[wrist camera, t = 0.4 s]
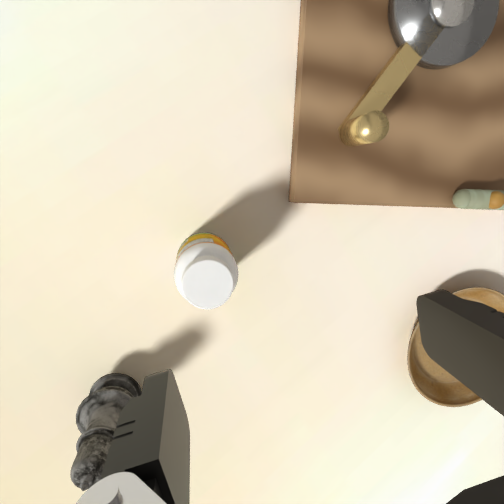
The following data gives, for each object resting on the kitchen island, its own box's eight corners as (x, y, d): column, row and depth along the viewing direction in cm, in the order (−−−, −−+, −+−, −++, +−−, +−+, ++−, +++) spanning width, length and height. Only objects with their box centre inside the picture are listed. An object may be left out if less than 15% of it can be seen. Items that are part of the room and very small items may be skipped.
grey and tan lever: (436, -78, 32) (489, -133, 26) (505, 5, 35) (567, -29, 29) (297, 110, 33) (319, 96, 28) (374, 177, 36) (408, 177, 30)
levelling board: (303, -43, 33) (320, -77, 29) (547, -7, 37) (595, -32, 33) (288, 201, 37) (301, 204, 33) (509, 208, 42) (547, 212, 37)
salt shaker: (74, 392, 38) (21, 488, 26) (121, 360, 38) (90, 440, 26) (110, 431, 39) (76, 538, 28) (155, 399, 39) (141, 492, 28)
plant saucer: (527, 321, 46) (547, 329, 43) (455, 413, 47) (470, 427, 44) (447, 257, 42) (464, 262, 39) (371, 359, 43) (382, 370, 40)
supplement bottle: (235, 276, 38) (249, 309, 29) (184, 288, 37) (181, 326, 28) (224, 226, 37) (235, 243, 27) (171, 238, 36) (164, 259, 27)
